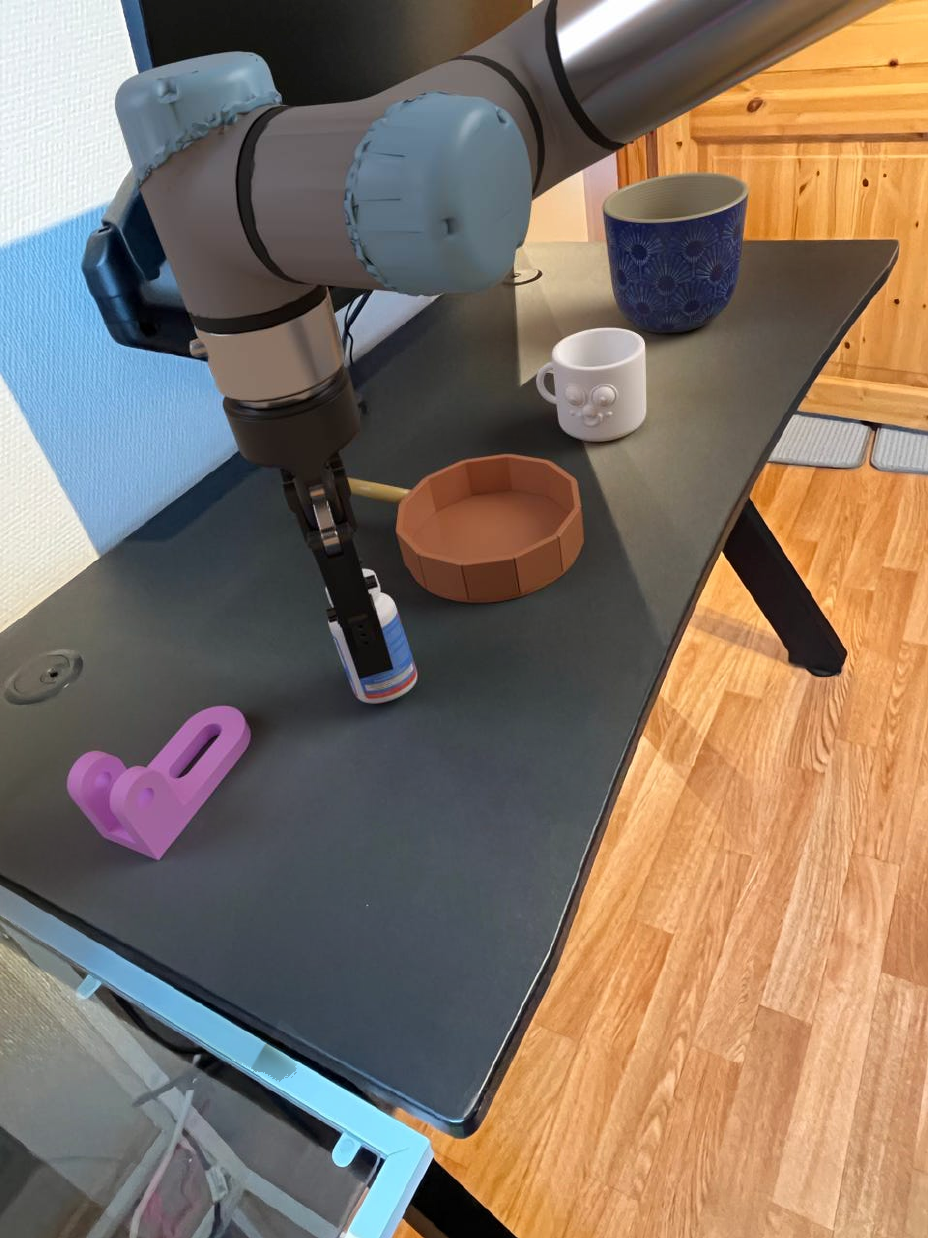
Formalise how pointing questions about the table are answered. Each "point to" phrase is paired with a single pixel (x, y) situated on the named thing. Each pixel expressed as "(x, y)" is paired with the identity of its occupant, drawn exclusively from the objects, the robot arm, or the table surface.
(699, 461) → the table surface
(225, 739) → the bracket
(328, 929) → the table surface
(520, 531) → the pan
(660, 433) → the table surface
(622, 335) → the mug
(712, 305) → the planter
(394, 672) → the pill bottle
